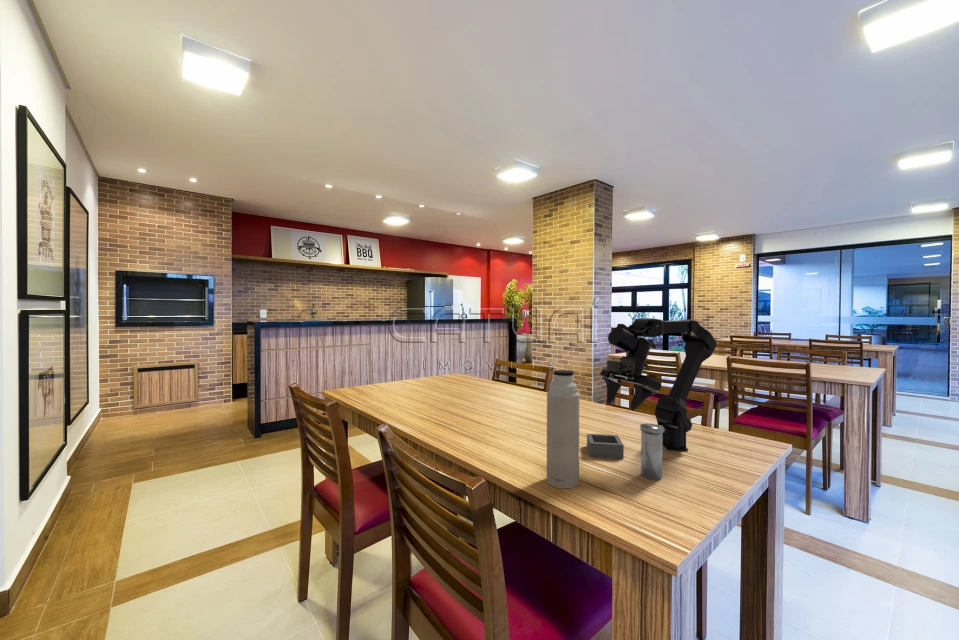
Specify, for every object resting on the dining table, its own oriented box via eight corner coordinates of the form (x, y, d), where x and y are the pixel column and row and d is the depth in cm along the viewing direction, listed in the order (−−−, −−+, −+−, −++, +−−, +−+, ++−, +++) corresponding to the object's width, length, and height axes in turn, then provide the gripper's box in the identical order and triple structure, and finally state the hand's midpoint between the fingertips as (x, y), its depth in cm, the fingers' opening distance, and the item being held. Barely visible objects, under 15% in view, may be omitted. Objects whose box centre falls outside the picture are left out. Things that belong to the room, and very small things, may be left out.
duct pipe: (659, 472, 102) (660, 424, 101) (666, 481, 96) (666, 430, 96) (637, 470, 103) (637, 422, 102) (642, 479, 97) (643, 429, 97)
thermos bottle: (540, 482, 95) (541, 371, 95) (555, 472, 102) (556, 367, 101) (570, 491, 90) (570, 374, 90) (584, 480, 96) (584, 370, 96)
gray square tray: (617, 447, 121) (617, 435, 121) (623, 458, 111) (623, 445, 111) (586, 445, 122) (587, 433, 122) (590, 456, 113) (590, 443, 113)
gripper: (595, 344, 120) (579, 391, 117) (642, 349, 103) (624, 404, 100) (620, 357, 124) (605, 403, 122) (669, 364, 107) (652, 417, 105)
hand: (619, 406), depth 112 cm, fingers open, 9 cm apart
